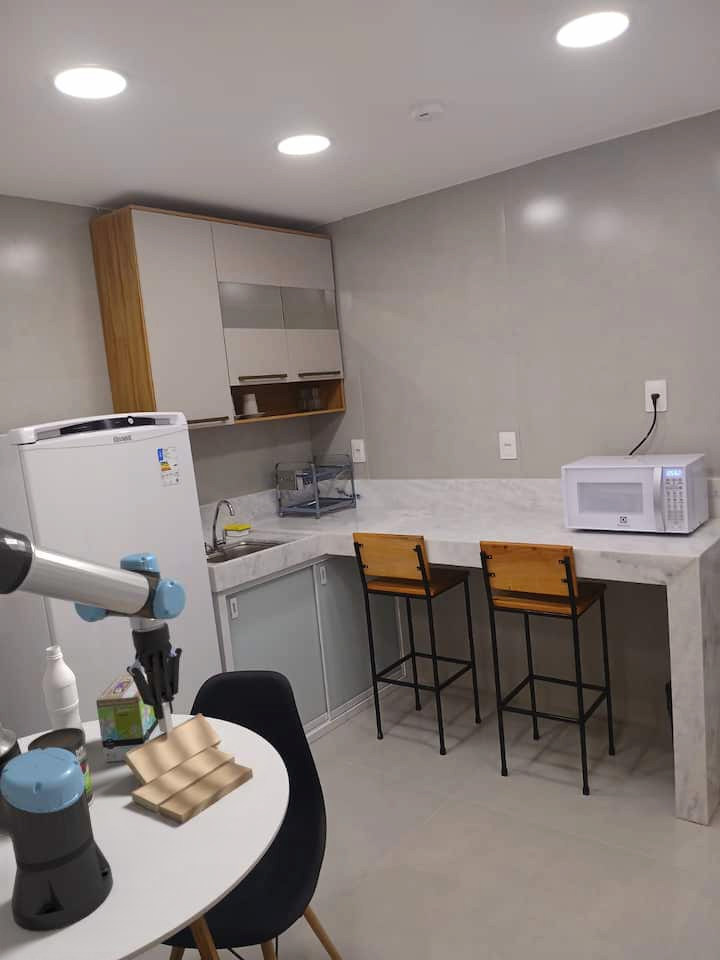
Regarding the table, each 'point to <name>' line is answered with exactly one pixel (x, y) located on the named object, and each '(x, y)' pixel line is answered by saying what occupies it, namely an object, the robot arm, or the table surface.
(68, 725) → the water bottle
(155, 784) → the plank
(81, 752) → the coffee can
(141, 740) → the tea box
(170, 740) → the plank
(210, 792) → the laid board
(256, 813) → the table surface
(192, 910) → the table surface
